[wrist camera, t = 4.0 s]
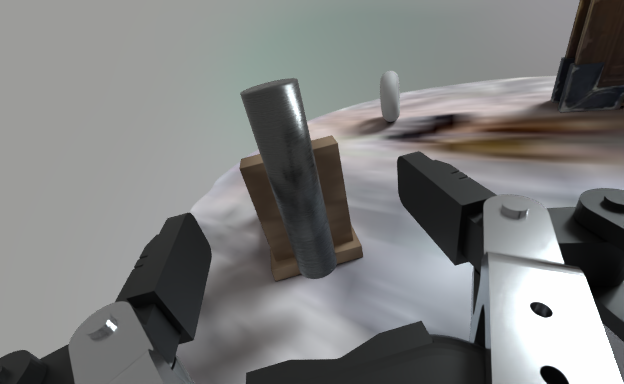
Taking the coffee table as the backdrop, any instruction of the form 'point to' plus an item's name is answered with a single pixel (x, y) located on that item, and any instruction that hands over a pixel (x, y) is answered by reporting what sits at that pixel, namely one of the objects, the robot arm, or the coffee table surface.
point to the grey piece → (292, 172)
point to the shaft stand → (333, 198)
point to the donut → (390, 96)
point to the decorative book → (593, 59)
